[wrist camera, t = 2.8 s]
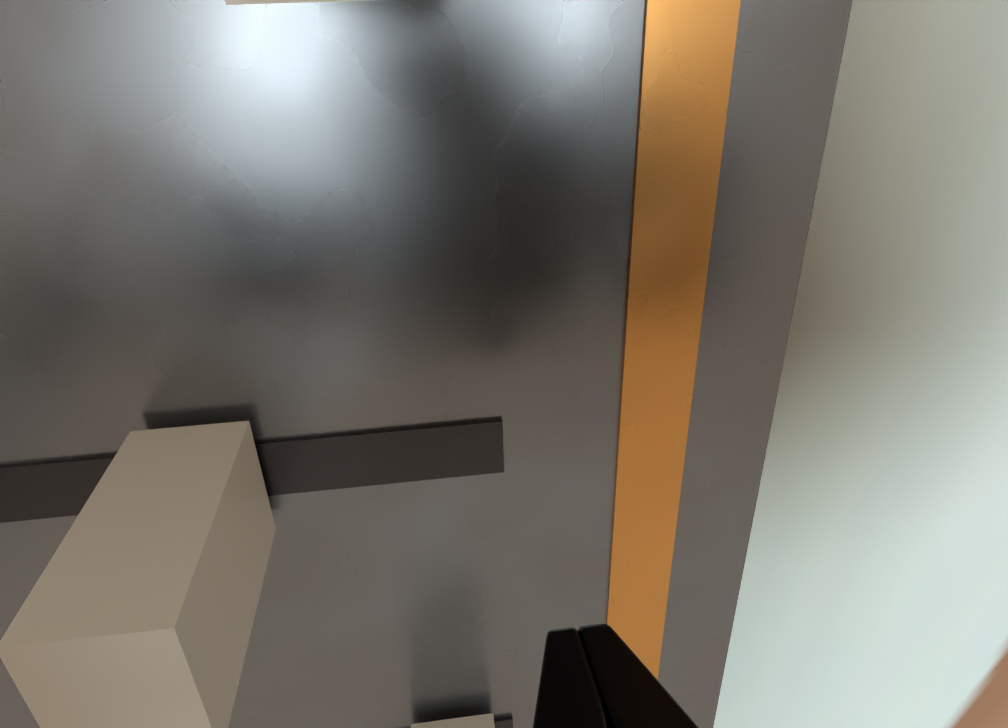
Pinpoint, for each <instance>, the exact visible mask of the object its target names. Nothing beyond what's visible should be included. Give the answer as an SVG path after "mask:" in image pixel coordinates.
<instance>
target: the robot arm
mask: <svg viewBox="0 0 1008 728" xmlns="http://www.w3.org/2000/svg"><path fill="white" fill-rule="evenodd" d="M533 728H699V727H698V726H697V724H696V723H695V722H694V721H693V720H692V719H691V718H690V716H689V715H688V714H687V713H686V712H685V711H684V710H683V708H682V707H681V706H680V705H679V704H678V703H677V702H676V700H675V699H674V698H673V697H672V696H671V695H670V694H669V692H668V691H667V690H666V689H665V688H664V687H663V686H662V684H661V683H660V682H659V681H658V680H657V679H656V678H655V676H654V675H653V674H652V673H651V672H650V671H649V670H648V668H647V667H646V666H645V665H644V664H643V663H642V662H641V660H640V659H639V658H638V657H637V656H636V655H635V654H634V652H633V651H632V650H631V649H630V648H629V647H628V646H627V644H626V643H625V642H624V641H623V640H622V639H621V638H620V636H619V635H618V634H617V633H616V632H615V631H614V630H613V629H612V628H611V626H609V625H607V624H605V623H600V624H592V625H584V626H581V627H580V628H579V629H578V631H577V629H576V628H574V627H569V628H561V629H553V630H550V631H548V633H547V636H546V642H545V649H544V655H543V662H542V669H541V675H540V682H539V689H538V695H537V702H536V709H535V715H534V722H533Z"/></svg>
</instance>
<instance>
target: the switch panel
mask: <svg viewBox="0 0 1008 728" xmlns="http://www.w3.org/2000/svg"><path fill="white" fill-rule="evenodd" d="M851 5H852V0H363V1H333V2H302V3H272V4H242V5H226V3H225V0H0V640H1V639H2V637H3V636H4V634H5V632H6V631H7V629H8V627H9V626H10V624H11V623H12V621H13V619H14V618H15V616H16V615H17V613H18V611H19V610H20V608H21V607H22V605H23V603H24V602H25V600H26V598H27V597H28V595H29V594H30V592H31V590H32V589H33V587H34V586H35V584H36V582H37V581H38V579H39V578H40V576H41V574H42V573H43V571H44V569H45V568H46V566H47V565H48V563H49V561H50V560H51V558H52V557H53V555H54V553H55V552H56V550H57V549H58V547H59V545H60V544H61V542H62V540H63V539H64V537H65V536H66V534H67V532H68V531H69V529H70V528H71V526H72V524H73V523H74V521H75V520H76V518H77V516H78V515H79V513H80V511H81V510H82V508H83V507H84V505H85V503H86V502H87V500H88V499H89V497H90V495H91V494H92V492H93V491H94V489H95V487H96V486H97V484H98V482H99V481H100V479H101V478H102V476H103V474H104V473H105V471H106V470H107V468H108V466H109V465H110V463H111V462H112V460H113V458H114V457H115V455H116V453H117V452H118V450H119V449H120V447H121V445H122V444H123V442H124V441H125V439H126V437H127V436H128V434H129V433H130V431H139V430H151V429H162V428H173V427H184V426H195V425H206V424H217V423H228V422H239V421H249V422H250V426H251V430H252V435H253V439H254V443H255V447H256V451H257V455H258V459H259V463H260V467H261V471H262V475H263V479H264V483H265V487H266V491H267V495H268V499H269V503H270V507H271V511H272V515H273V520H274V524H275V528H276V530H275V534H274V538H273V542H272V547H271V551H270V555H269V559H268V563H267V567H266V572H265V576H264V580H263V584H262V588H261V593H260V597H259V601H258V605H257V609H256V614H255V618H254V622H253V626H252V630H251V634H250V639H249V643H248V647H247V651H246V655H245V660H244V664H243V668H242V672H241V676H240V680H239V685H238V689H237V693H236V697H235V701H234V706H233V710H232V714H231V718H230V722H229V726H228V728H411V724H416V723H423V722H431V721H438V720H446V719H453V718H460V717H468V716H475V715H483V714H490V713H493V716H494V724H495V728H533V722H534V715H535V709H536V702H537V695H538V689H539V682H540V675H541V669H542V662H543V655H544V649H545V642H546V636H547V633H548V631H550V630H553V629H561V628H569V627H574V628H576V629H577V631H578V629H579V628H580V627H581V626H584V625H592V624H600V623H605V624H607V625H609V626H611V628H612V629H613V630H614V631H615V632H616V633H617V634H618V635H619V636H620V638H621V639H622V640H623V641H624V642H625V643H626V644H627V646H628V647H629V648H630V649H631V650H632V651H633V652H634V654H635V655H636V656H637V657H638V658H639V659H640V660H641V662H642V663H643V664H644V665H645V666H646V667H647V668H648V670H649V671H650V672H651V673H652V674H653V675H654V676H655V678H656V679H657V680H658V681H659V682H660V683H661V684H662V686H663V687H664V688H665V689H666V690H667V691H668V692H669V694H670V695H671V696H672V697H673V698H674V699H675V700H676V702H677V703H678V704H679V705H680V706H681V707H682V708H683V710H684V711H685V712H686V713H687V714H688V715H689V716H690V718H691V719H692V720H693V721H694V722H695V723H696V724H697V726H698V727H699V728H713V725H714V720H715V714H716V709H717V704H718V699H719V694H720V688H721V683H722V678H723V673H724V668H725V662H726V657H727V652H728V647H729V641H730V636H731V631H732V626H733V621H734V615H735V610H736V605H737V600H738V595H739V589H740V584H741V579H742V574H743V568H744V563H745V558H746V553H747V548H748V542H749V537H750V532H751V527H752V521H753V516H754V511H755V506H756V501H757V495H758V490H759V485H760V480H761V475H762V469H763V464H764V459H765V454H766V448H767V443H768V438H769V433H770V428H771V422H772V417H773V412H774V407H775V402H776V396H777V391H778V386H779V381H780V375H781V370H782V365H783V360H784V355H785V349H786V344H787V339H788V334H789V329H790V323H791V318H792V313H793V308H794V302H795V297H796V292H797V287H798V282H799V276H800V271H801V266H802V261H803V256H804V250H805V245H806V240H807V235H808V229H809V224H810V219H811V214H812V209H813V203H814V198H815V193H816V188H817V182H818V177H819V172H820V167H821V162H822V156H823V151H824V146H825V141H826V136H827V130H828V125H829V120H830V115H831V109H832V104H833V99H834V94H835V89H836V83H837V78H838V73H839V68H840V63H841V57H842V52H843V47H844V42H845V36H846V31H847V26H848V21H849V16H850V10H851ZM0 728H40V727H39V725H38V723H37V722H36V720H35V718H34V716H33V715H32V713H31V711H30V709H29V708H28V706H27V704H26V702H25V701H24V699H23V697H22V695H21V694H20V692H19V690H18V688H17V686H16V685H15V683H14V681H13V679H12V678H11V676H10V674H9V672H8V671H7V669H6V667H5V665H4V664H3V662H2V660H1V658H0Z"/></svg>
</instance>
